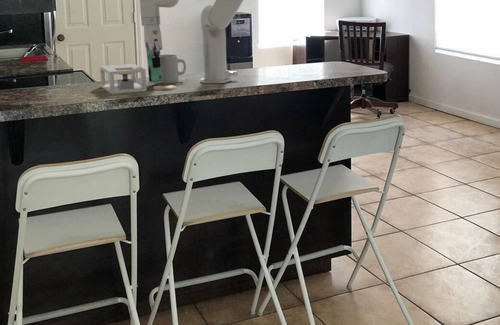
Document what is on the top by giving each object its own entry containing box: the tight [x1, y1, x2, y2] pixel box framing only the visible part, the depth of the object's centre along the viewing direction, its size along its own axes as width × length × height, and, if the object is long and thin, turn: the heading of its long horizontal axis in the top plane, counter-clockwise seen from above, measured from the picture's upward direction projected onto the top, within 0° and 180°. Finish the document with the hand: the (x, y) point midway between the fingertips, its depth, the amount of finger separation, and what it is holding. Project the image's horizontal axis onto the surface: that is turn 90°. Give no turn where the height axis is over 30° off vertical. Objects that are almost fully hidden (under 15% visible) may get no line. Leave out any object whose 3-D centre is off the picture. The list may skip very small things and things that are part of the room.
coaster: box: [152, 84, 177, 91], centre depth 277 cm, size 9×9×1 cm
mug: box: [160, 54, 187, 84], centre depth 292 cm, size 12×8×11 cm
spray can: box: [145, 39, 163, 84], centre depth 282 cm, size 6×6×20 cm
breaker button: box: [118, 73, 131, 81], centre depth 272 cm, size 5×5×4 cm
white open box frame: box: [99, 63, 148, 95], centre depth 276 cm, size 14×18×8 cm
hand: (154, 66), depth 282 cm, fingers closed on spray can, 5 cm apart
